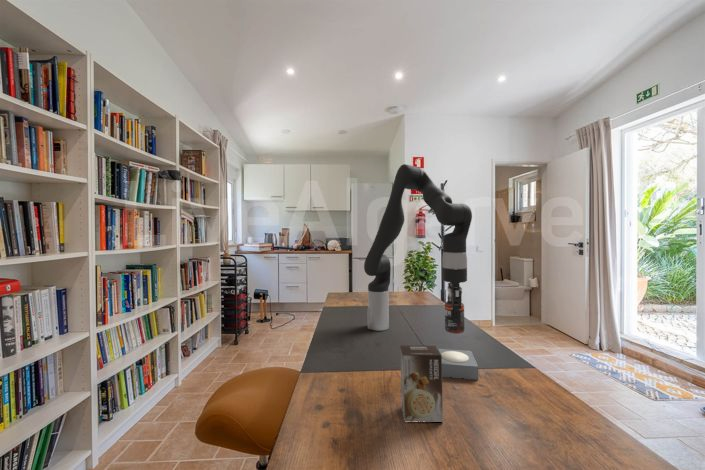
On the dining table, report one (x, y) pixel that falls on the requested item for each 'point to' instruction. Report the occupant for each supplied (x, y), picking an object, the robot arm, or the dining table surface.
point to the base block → (458, 364)
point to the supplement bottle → (449, 324)
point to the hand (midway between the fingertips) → (454, 318)
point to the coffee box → (421, 383)
